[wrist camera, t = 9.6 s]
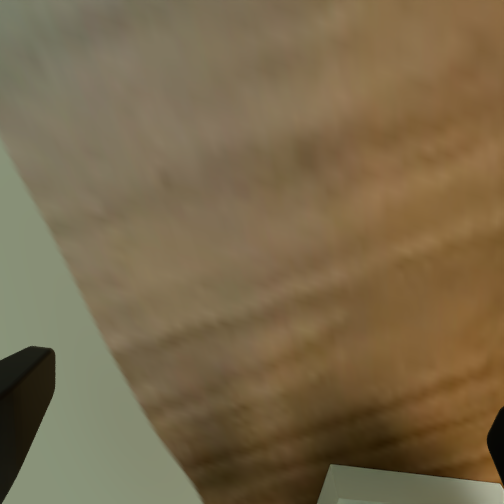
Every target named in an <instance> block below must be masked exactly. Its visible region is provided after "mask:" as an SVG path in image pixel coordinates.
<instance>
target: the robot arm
mask: <svg viewBox="0 0 504 504" xmlns="http://www.w3.org/2000/svg"><path fill="white" fill-rule="evenodd" d="M54 390H55V352H54V350H53V349H51V348H45V347H37V346H30V347H27V348H25V349H23V350H21V351H19V352H17V353H15V354H13V355H10V356H8V357H6V358H4V359H2V360H0V504H2V502H3V500H4V499H5V497H6V495H7V494H8V492H9V490H10V488H11V486H12V485H13V483H14V481H15V479H16V477H17V475H18V473H19V471H20V469H21V466H22V464H23V462H24V460H25V458H26V455H27V453H28V451H29V449H30V446H31V444H32V442H33V440H34V437H35V435H36V433H37V431H38V428H39V426H40V424H41V422H42V419H43V417H44V415H45V412H46V410H47V408H48V406H49V404H50V401H51V399H52V397H53V393H54ZM487 446H488V449H489V451H490V454H491V456H492V459H493V461H494V464H495V466H496V469H497V471H498V474H499V476H500V478H501V481H502V483H503V486H504V406H503V407H502V408H501V409H500V410H499V412H498V414H497V416H496V418H495V420H494V422H493V424H492V426H491V428H490V430H489V432H488V435H487Z"/></svg>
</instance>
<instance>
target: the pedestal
mask: <svg viewBox="0 0 504 504" xmlns="http://www.w3.org/2000/svg"><path fill="white" fill-rule="evenodd" d="M317 504H504V489H503V488H502V486H501V485H500V484H498V483H490V482H481V481H472V480H463V479H455V478H446V477H437V476H429V475H420V474H411V473H403V472H394V471H385V470H377V469H368V468H359V467H351V466H342V465H333V464H330V467H329V470H328V473H327V476H326V479H325V482H324V484H323V487H322V490H321V493H320V496H319V499H318V502H317Z"/></svg>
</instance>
